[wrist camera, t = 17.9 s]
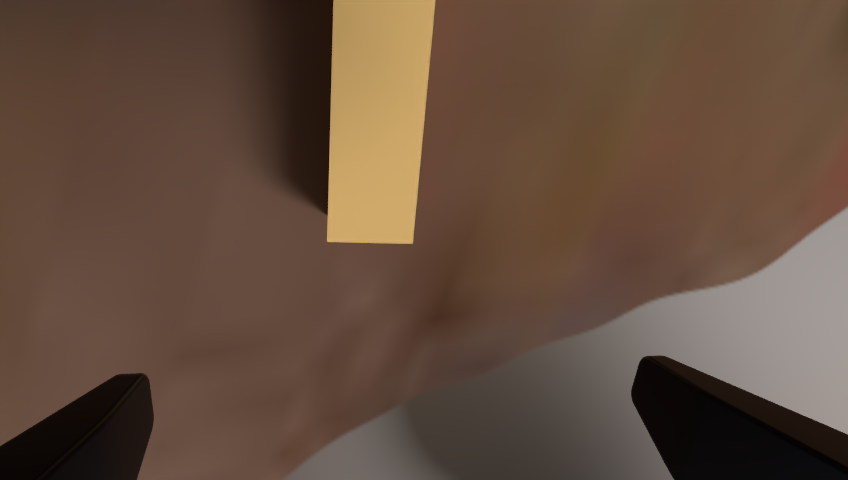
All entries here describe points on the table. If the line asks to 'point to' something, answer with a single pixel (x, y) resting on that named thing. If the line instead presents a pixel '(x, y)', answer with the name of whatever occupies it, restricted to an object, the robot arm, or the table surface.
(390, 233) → the plug
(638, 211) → the table surface
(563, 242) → the table surface
